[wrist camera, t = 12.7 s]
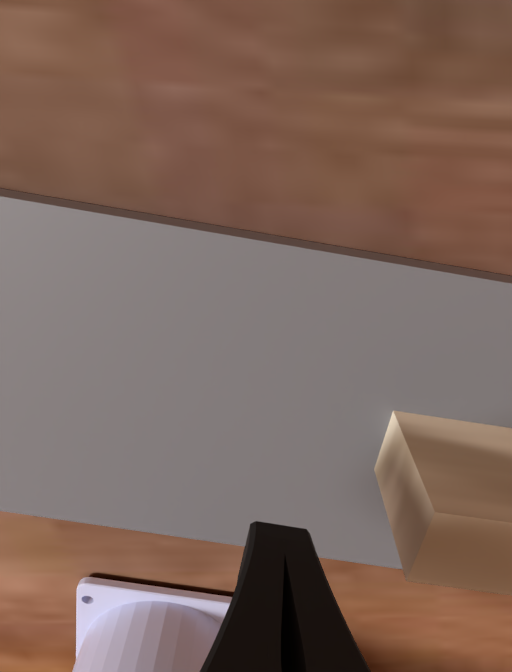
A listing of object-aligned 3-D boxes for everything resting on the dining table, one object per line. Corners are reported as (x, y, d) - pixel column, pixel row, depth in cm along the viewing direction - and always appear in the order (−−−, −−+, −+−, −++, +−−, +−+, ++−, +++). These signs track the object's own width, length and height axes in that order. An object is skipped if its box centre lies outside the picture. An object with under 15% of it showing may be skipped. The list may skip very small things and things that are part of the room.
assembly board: (736, 598, 20) (758, 621, 20) (-93, 476, 19) (-112, 494, 18) (952, 351, 15) (994, 365, 15) (-151, 162, 14) (-180, 165, 13)
